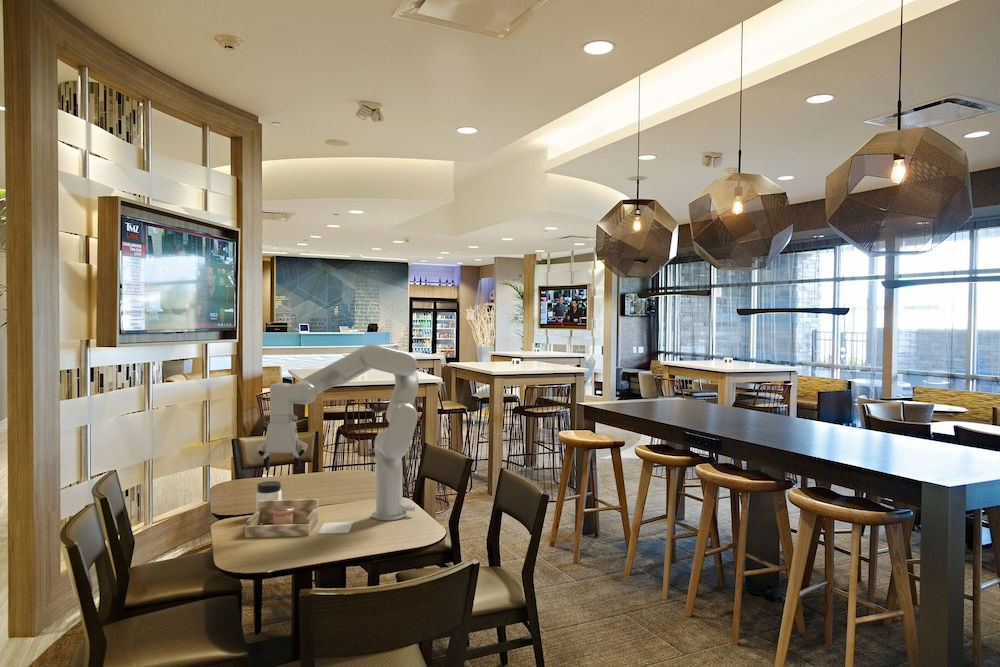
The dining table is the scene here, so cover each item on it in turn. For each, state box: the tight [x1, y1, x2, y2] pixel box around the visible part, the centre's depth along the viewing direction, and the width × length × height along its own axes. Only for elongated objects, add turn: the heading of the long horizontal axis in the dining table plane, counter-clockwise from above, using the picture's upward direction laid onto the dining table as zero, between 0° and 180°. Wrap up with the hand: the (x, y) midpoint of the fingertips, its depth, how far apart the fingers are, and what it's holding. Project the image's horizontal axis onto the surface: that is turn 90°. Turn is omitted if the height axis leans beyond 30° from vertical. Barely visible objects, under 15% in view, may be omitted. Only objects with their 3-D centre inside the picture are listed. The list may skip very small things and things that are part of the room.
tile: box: [317, 521, 354, 535], centre depth 224 cm, size 10×12×1 cm
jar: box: [255, 480, 283, 511], centre depth 240 cm, size 9×8×12 cm
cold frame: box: [244, 498, 319, 538], centre depth 224 cm, size 20×16×8 cm
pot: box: [272, 506, 294, 525], centre depth 224 cm, size 7×7×7 cm
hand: (282, 469), depth 224 cm, fingers open, 9 cm apart
